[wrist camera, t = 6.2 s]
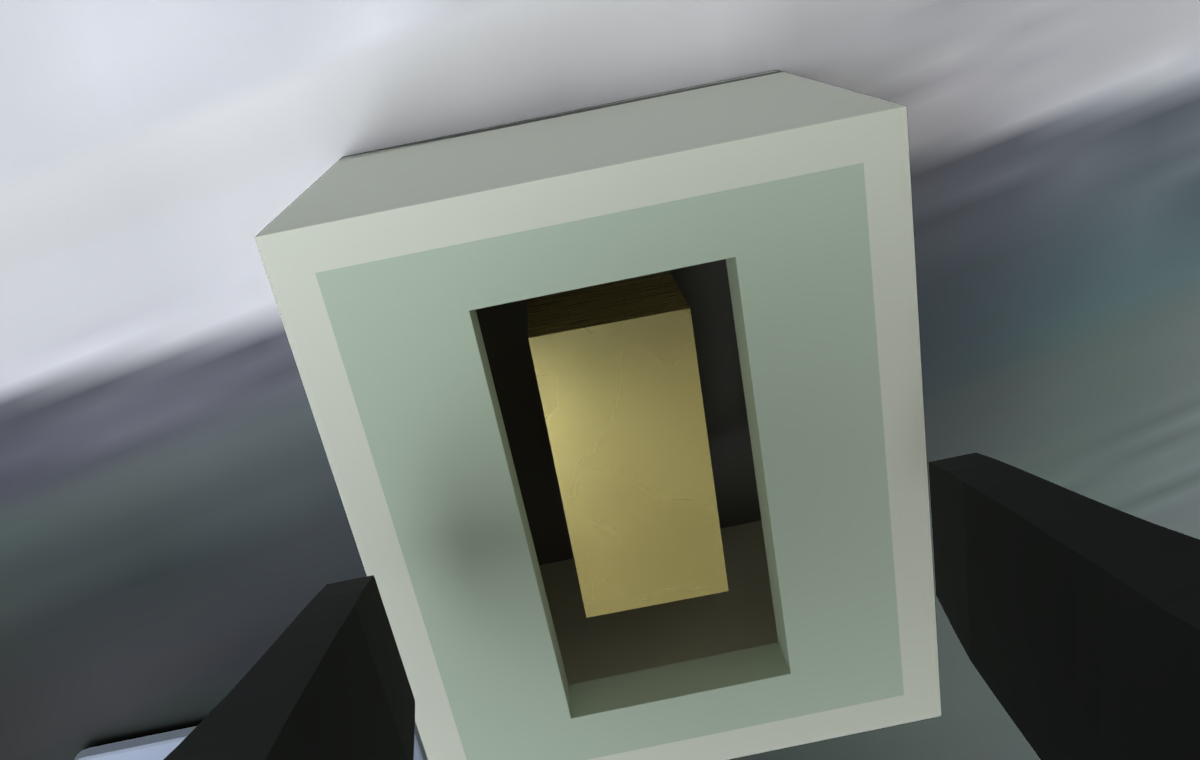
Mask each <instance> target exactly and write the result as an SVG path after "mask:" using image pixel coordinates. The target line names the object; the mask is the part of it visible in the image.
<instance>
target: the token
mask: <svg viewBox="0 0 1200 760" xmlns="http://www.w3.org/2000/svg"><path fill="white" fill-rule="evenodd" d="M527 313H528V339H529V344H530V349H531V354H532V358H533V363H534V368H535V373H536V378H537V382H538V387H539V392H540V397H541V402H542V406H543V411H544V416H545V421H546V426H547V430H548V435H549V440H550V445H551V450H552V455H553V459H554V464H555V469H556V474H557V479H558V483H559V488H560V493H561V498H562V503H563V507H564V512H565V517H566V522H567V527H568V531H569V536H570V541H571V546H572V551H573V555H574V560H575V565H576V570H577V575H578V579H579V584H580V589H581V594H582V599H583V603H584V608H585V613H586V618H588V617H594V616H599V615H604V614H610V613H615V612H620V611H626V610H631V609H636V608H642V607H647V606H652V605H657V604H663V603H668V602H673V601H679V600H684V599H689V598H695V597H700V596H705V595H711V594H716V593H721V592H726V591H729V590H728V582H727V575H726V568H725V560H724V553H723V545H722V538H721V531H720V523H719V516H718V509H717V501H716V494H715V487H714V479H713V472H712V465H711V457H710V450H709V443H708V435H707V428H706V421H705V413H704V406H703V399H702V391H701V384H700V376H699V369H698V362H697V354H696V347H695V340H694V332H693V325H692V318H691V310H690V307H689V305H688V303H687V302H686V300H685V298H684V296H683V294H682V293H681V291H680V289H679V287H678V285H677V284H676V282H675V280H674V278H673V276H672V275H671V273H670V271H669V270H668V271H663V272H658V273H654V274H649V275H644V276H639V277H634V278H629V279H624V280H619V281H614V282H609V283H604V284H599V285H594V286H589V287H584V288H579V289H574V290H569V291H564V292H559V293H554V294H549V295H544V296H540V297H535V298H530V299H527Z"/></svg>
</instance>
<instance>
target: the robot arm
mask: <svg viewBox="0 0 1200 760" xmlns="http://www.w3.org/2000/svg"><path fill="white" fill-rule="evenodd" d="M929 474H930V492H931V509H932V527H933V545H934V563H935V580H936V595H937V597H938V599H939V601H940V603H941V605H942V607H943V609H944V611H945V613H946V615H947V617H948V619H949V621H950V623H951V625H952V627H953V629H954V631H955V633H956V634H957V636H958V638H959V640H960V642H961V644H962V646H963V647H964V649H965V651H966V653H967V655H968V657H969V658H970V660H971V662H972V663H973V665H974V666H975V668H976V669H977V670H978V672H979V673H980V675H981V676H982V678H983V679H984V681H985V682H986V683H987V685H988V686H989V688H990V689H991V690H992V692H993V693H994V695H995V696H996V698H997V699H998V700H999V702H1000V703H1001V705H1002V706H1003V707H1004V709H1005V710H1006V712H1007V713H1008V715H1009V716H1010V717H1011V719H1012V720H1013V721H1014V723H1015V724H1016V726H1017V727H1018V728H1019V730H1020V731H1021V733H1022V734H1023V735H1024V737H1025V738H1026V740H1027V741H1028V742H1029V744H1030V745H1031V747H1032V748H1033V749H1034V751H1035V752H1036V754H1037V755H1038V756H1039V758H1040V759H1041V760H1200V540H1199V539H1196V538H1193V537H1190V536H1187V535H1184V534H1182V533H1179V532H1176V531H1173V530H1170V529H1167V528H1164V527H1162V526H1159V525H1156V524H1153V523H1151V522H1148V521H1145V520H1143V519H1140V518H1137V517H1135V516H1132V515H1130V514H1127V513H1124V512H1122V511H1119V510H1117V509H1114V508H1112V507H1109V506H1107V505H1104V504H1102V503H1099V502H1097V501H1095V500H1092V499H1090V498H1087V497H1085V496H1082V495H1080V494H1078V493H1075V492H1073V491H1070V490H1068V489H1066V488H1063V487H1061V486H1059V485H1056V484H1054V483H1051V482H1049V481H1047V480H1044V479H1042V478H1040V477H1037V476H1035V475H1033V474H1030V473H1028V472H1025V471H1023V470H1021V469H1018V468H1016V467H1013V466H1011V465H1008V464H1006V463H1003V462H1001V461H998V460H996V459H993V458H990V457H987V456H984V455H981V454H978V453H972V454H967V455H962V456H958V457H953V458H948V459H943V460H938V461H933V462H929ZM74 760H428V759H427V756H426V753H425V750H424V747H423V744H422V741H421V738H420V735H419V732H418V729H417V726H416V723H415V699H414V696H413V693H412V690H411V687H410V684H409V681H408V678H407V675H406V672H405V668H404V665H403V662H402V659H401V656H400V653H399V650H398V647H397V644H396V641H395V638H394V635H393V632H392V629H391V626H390V623H389V620H388V617H387V614H386V611H385V608H384V605H383V602H382V599H381V595H380V592H379V589H378V586H377V583H376V580H375V577H374V575H372V576H367V577H362V578H357V579H352V580H347V581H342V582H337V583H332V584H327V585H326V586H325V587H324V588H323V589H322V590H321V591H320V592H319V593H318V594H317V595H316V596H315V597H314V598H313V599H312V601H311V602H310V603H309V604H308V605H307V606H306V607H305V608H304V609H303V611H302V612H301V613H300V614H299V615H298V616H297V617H296V619H295V620H294V621H293V622H292V623H291V624H290V625H289V627H288V628H287V629H286V630H285V631H284V632H283V633H282V635H281V636H280V637H279V638H278V639H277V640H276V642H275V643H274V644H273V645H272V646H271V647H270V648H269V649H268V651H267V652H266V653H265V654H264V655H263V656H262V657H261V658H260V660H259V661H258V662H257V663H256V664H255V665H254V666H253V667H252V669H251V670H250V671H249V672H248V673H247V674H246V675H245V676H244V677H243V679H242V680H241V681H240V682H239V683H238V684H237V685H236V686H235V687H234V689H233V690H232V691H231V692H230V693H229V694H228V695H227V696H226V697H225V698H224V699H223V700H222V701H221V702H220V703H219V704H218V705H217V706H216V707H215V708H214V709H213V710H212V711H211V712H210V713H209V714H208V715H207V716H206V717H205V718H204V719H203V720H202V721H201V722H200V724H199V725H198V726H194V727H189V728H184V729H179V730H174V731H169V732H164V733H159V734H155V735H150V736H145V737H140V738H135V739H130V740H125V741H120V742H115V743H110V744H105V745H101V746H96V747H91V748H87V749H85V750H82V751H81V752H80V753H79V754H78V755H77V756H76V757H75V759H74Z"/></svg>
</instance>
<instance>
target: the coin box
mask: <svg viewBox="0 0 1200 760" xmlns="http://www.w3.org/2000/svg"><path fill="white" fill-rule="evenodd" d="M254 238H255V241H256V244H257V247H258V250H259V253H260V256H261V259H262V262H263V265H264V268H265V271H266V274H267V277H268V280H269V283H270V286H271V289H272V292H273V295H274V298H275V301H276V304H277V307H278V310H279V313H280V316H281V319H282V322H283V325H284V328H285V331H286V334H287V337H288V340H289V343H290V346H291V349H292V352H293V355H294V358H295V361H296V364H297V367H298V370H299V373H300V376H301V379H302V382H303V385H304V388H305V391H306V394H307V397H308V400H309V403H310V406H311V409H312V412H313V415H314V418H315V421H316V424H317V427H318V430H319V433H320V436H321V439H322V442H323V445H324V448H325V451H326V454H327V457H328V460H329V463H330V466H331V469H332V472H333V475H334V478H335V482H336V485H337V488H338V491H339V494H340V497H341V500H342V503H343V506H344V509H345V512H346V515H347V518H348V521H349V524H350V527H351V530H352V533H353V536H354V539H355V542H356V545H357V548H358V551H359V554H360V557H361V560H362V563H363V566H364V569H365V572H366V575H367V576H372V575H374V577H375V580H376V583H377V586H378V589H379V592H380V595H381V599H382V602H383V605H384V608H385V611H386V614H387V617H388V620H389V623H390V626H391V629H392V632H393V635H394V638H395V641H396V644H397V647H398V650H399V653H400V656H401V659H402V662H403V665H404V668H405V672H406V675H407V678H408V681H409V684H410V687H411V690H412V693H413V696H414V699H415V722H416V725H417V728H418V731H419V734H420V737H421V740H422V743H423V746H424V749H425V752H426V755H427V758H428V760H728V759H733V758H738V757H743V756H748V755H753V754H757V753H762V752H767V751H772V750H777V749H782V748H787V747H792V746H797V745H801V744H806V743H811V742H816V741H821V740H826V739H831V738H836V737H841V736H845V735H850V734H855V733H860V732H865V731H870V730H875V729H880V728H885V727H889V726H894V725H899V724H904V723H909V722H914V721H919V720H924V719H929V718H933V717H938V716H941V703H940V685H939V668H938V650H937V633H936V615H935V598H934V581H933V563H932V546H931V528H930V511H929V493H928V476H927V458H926V441H925V423H924V406H923V388H922V371H921V354H920V336H919V319H918V301H917V284H916V266H915V249H914V231H913V214H912V196H911V179H910V161H909V144H908V126H907V109H906V106H904V105H900V104H897V103H893V102H890V101H886V100H883V99H879V98H875V97H872V96H868V95H865V94H861V93H858V92H854V91H850V90H847V89H843V88H840V87H836V86H833V85H829V84H825V83H822V82H818V81H815V80H811V79H808V78H804V77H800V76H797V75H793V74H790V73H786V72H783V71H779V70H773V71H768V72H763V73H758V74H753V75H748V76H744V77H739V78H734V79H729V80H724V81H719V82H714V83H709V84H704V85H699V86H694V87H689V88H684V89H679V90H674V91H669V92H664V93H659V94H654V95H649V96H644V97H639V98H634V99H629V100H624V101H619V102H614V103H609V104H604V105H599V106H594V107H589V108H584V109H579V110H574V111H569V112H564V113H559V114H554V115H549V116H544V117H539V118H534V119H529V120H524V121H519V122H514V123H509V124H504V125H499V126H494V127H489V128H484V129H479V130H474V131H469V132H465V133H460V134H455V135H450V136H445V137H440V138H435V139H430V140H425V141H420V142H415V143H410V144H405V145H400V146H395V147H390V148H385V149H380V150H375V151H370V152H365V153H360V154H355V155H350V156H345V157H342V158H341V159H340V160H339V161H337V162H336V163H335V164H334V165H333V166H332V167H331V168H330V169H329V170H328V171H326V172H325V173H324V174H323V175H322V176H321V177H320V178H319V179H318V180H317V181H315V182H314V183H313V184H312V185H311V186H310V187H309V188H308V189H307V190H306V191H305V192H303V193H302V194H301V195H300V196H299V197H298V198H297V199H296V200H295V201H294V202H292V203H291V204H290V205H289V206H288V207H287V208H286V209H285V210H284V211H283V212H281V213H280V214H279V215H278V216H277V217H276V218H275V219H274V220H273V221H272V222H271V223H269V224H268V225H267V226H266V227H265V228H264V229H263V230H262V231H261V232H260V233H258V234H257V235H256V236H255V237H254ZM668 270H669V271H670V273H671V275H672V276H673V278H674V280H675V282H676V284H677V285H678V287H679V289H680V291H681V293H682V294H683V296H684V298H685V300H686V302H687V303H688V305H689V307H690V310H691V318H692V325H693V332H694V340H695V347H696V354H697V362H698V369H699V376H700V384H701V391H702V399H703V406H704V413H705V421H706V428H707V435H708V443H709V450H710V457H711V465H712V472H713V479H714V487H715V494H716V501H717V509H718V516H719V523H720V531H721V538H722V545H723V553H724V560H725V568H726V575H727V582H728V590H729V591H726V592H721V593H716V594H711V595H705V596H700V597H695V598H689V599H684V600H679V601H673V602H668V603H663V604H657V605H652V606H647V607H642V608H636V609H631V610H626V611H620V612H615V613H610V614H604V615H599V616H594V617H588V618H586V613H585V608H584V603H583V599H582V594H581V589H580V584H579V579H578V575H577V570H576V565H575V560H574V555H573V551H572V546H571V541H570V536H569V531H568V527H567V522H566V517H565V512H564V507H563V503H562V498H561V493H560V488H559V483H558V479H557V474H556V469H555V464H554V459H553V455H552V450H551V445H550V440H549V435H548V430H547V426H546V421H545V416H544V411H543V406H542V402H541V397H540V392H539V387H538V382H537V378H536V373H535V368H534V363H533V358H532V354H531V349H530V344H529V339H528V313H527V299H530V298H535V297H540V296H544V295H549V294H554V293H559V292H564V291H569V290H574V289H579V288H584V287H589V286H594V285H599V284H604V283H609V282H614V281H619V280H624V279H629V278H634V277H639V276H644V275H649V274H654V273H658V272H663V271H668Z"/></svg>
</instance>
